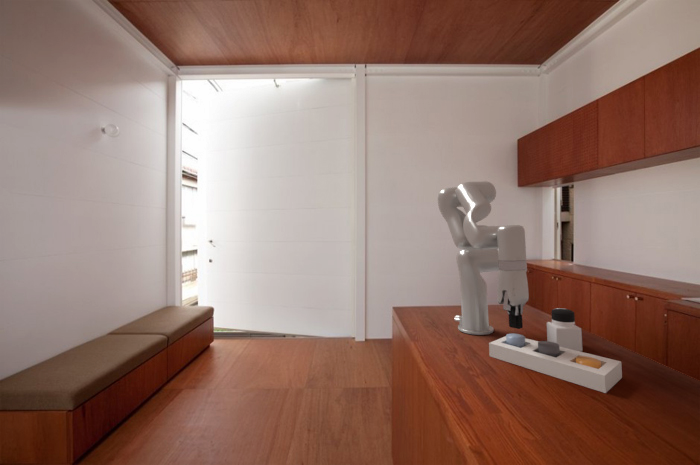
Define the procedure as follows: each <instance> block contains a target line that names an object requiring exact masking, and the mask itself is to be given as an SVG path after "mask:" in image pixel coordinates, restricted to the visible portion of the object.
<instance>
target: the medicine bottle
mask: <svg viewBox="0 0 700 465" xmlns="http://www.w3.org/2000/svg"><path fill="white" fill-rule="evenodd" d="M575 315H576V314H575V312H574V311H573V310H571V309H570V308H569V309H567V308H560V307H559V308H558V307H557V308H554V309H552V310H551V321H547V322H546V337H547V338H546V339H547V340H546V341H550V342H554V343H557V344H559V347H563V348H568V349H572V350H576V351H580V352H583V333H582V332H583V331H582V327H579V326H577V325H576V319H575V317H576V316H575Z"/></svg>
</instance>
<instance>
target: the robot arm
mask: <svg viewBox="0 0 700 465" xmlns="http://www.w3.org/2000/svg"><path fill="white" fill-rule="evenodd" d="M496 196H497V189H496V186H495V185H494V184H493V183H492V182H491V181H486V180H485V181H466V182H462V183H460V184H459V185H458V186H457V187H456V186H455V187H454V186H453V187H447V188H443V189H442V190H440V191H439V193H438V196H437V205H438V208H439V212H440V214H441V215H442V217H443V219H444V221H445V223H447V226H448V229H449V232H450V235H451V238H452V240H453V243H454V245H455V246H456V247H457V248H458V249H460V250H459V251H458V252H457V254H456V265H457V268H458V273H459V274H458V275H459V283H460V284H459V285H460V286H459V287H460V304H461V315H458V314H456V315H455V316H454V320H453V321H455V322H458V323H459V324H458V325H457V329H458V331H459V332H462V333H464V334H468V335H473V336H484V335H491V334H492V333H493V332H494V327H493V326H492V325H489V308H488V307H489V306H488V305H489V302H488V299H489V298H488V285H487V282H486V280H485V278H484V277H483V276H482V275H481V273H493V272H498V275H497V285H496V287H497V289H496V291H497V292H496V293H497V294H496V295H497V303H498V304H499V305H503V306H502V307H503V308H502V309H503V310H504V311H506V312H507V314H508V326H509V327H510V328H512V329H517V330H520V329H523V328H524V327H523V312H524V311H523V310H524V306H526V303H527V302H528V301H529V296H530V295H529V294H530V293H529V292H530V291H529V283H528V277H527V272H528V264H527V251H526V250H527V246H526V244H527V243H526V231H525V228H524V226H523V225H520V224H519V225H518V224H517V225H514V224H513V225H489V226H488V225H483V224H482V225H481V224H479V225H478V224H477V223H478V222H480V221H482V220H484V219H485V218H487V217H488V216H490V215H489V214H490V213H491V212H492V204H491V203H492V202H494V200H495V198H496ZM459 208H463V210H464V211H465V212H464V211H462V210H461V209H459Z"/></svg>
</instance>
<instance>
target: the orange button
mask: <svg viewBox="0 0 700 465" xmlns="http://www.w3.org/2000/svg"><path fill="white" fill-rule="evenodd" d="M576 363H578V364H582V365H586V366H589V367H593V368H597V369H599V368H600V367H601V362H600V361H599V360H597V359H595V358H591V357H586V356H578V357H576Z"/></svg>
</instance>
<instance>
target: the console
mask: <svg viewBox="0 0 700 465" xmlns="http://www.w3.org/2000/svg"><path fill="white" fill-rule="evenodd" d="M538 342H540V341H538V340H534V339H530V338H526V337H525V346H524V347H522V348H519V347H516V346H512V345H508V344H507V343H506V335H505V336H503V337H500V338H498V339H495V340H493V341H490V342H488V351H489V352H488V353H489V357H490V358H493V359H494V358H495V359H497V360H500V361H503V362H505V363H506V362H507V363H509V364H513V365H517V366H519V367H522V368H525V369H529V370H532V371H534V372H538V373H541V374H544V375H547V376H549V377H552V378H553V377H554V378H557V379H559V380H562V381H566V382H569V383H573V384H576V385H579V386H581V387H585V388H587V389H591V390H594V391H598V392H601V393H604V394H607V393H608V392H609V391H610V390H611V389H612V388H613V387H614V386H615V385H616V384H618V382H619V381H620V380H621V379H623V371H622V366H623V365H622V361H620V360H616V359H612V358H608V357H603V356H601V355H597V354H592V353H587V352H583V351H582V352H580V351H576V350H572V349H568V348H563V347H559V349H560V356H558V357H552V356H549V355H545V354H541V353H538ZM578 356H586V357H591V358H595V359H597V360H599V361H600V362H601V367H600V368H599V369H597V368H593V367H589V366H586V365H582V364H578V363H576V357H578Z"/></svg>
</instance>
